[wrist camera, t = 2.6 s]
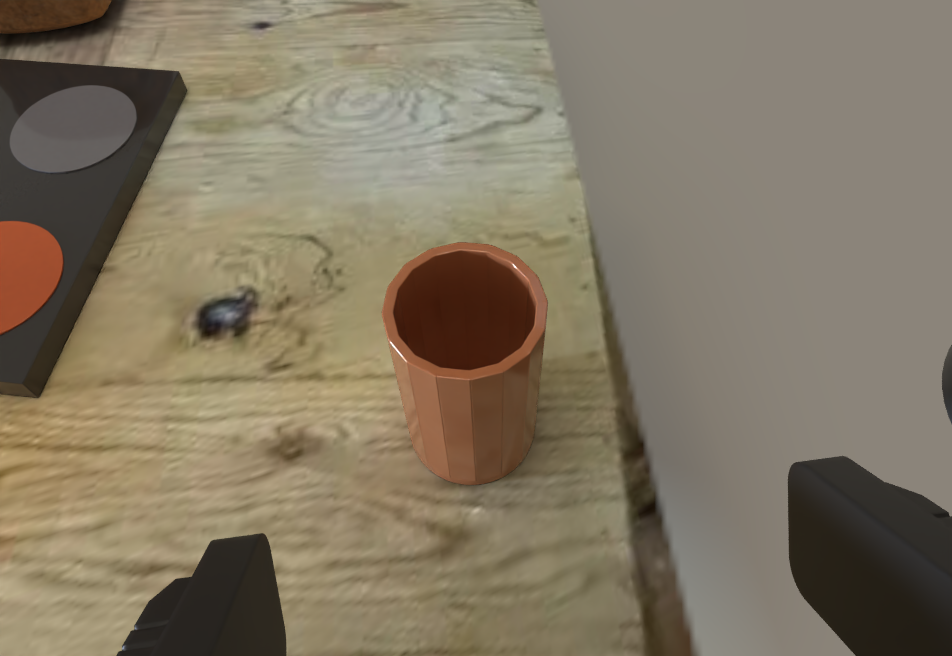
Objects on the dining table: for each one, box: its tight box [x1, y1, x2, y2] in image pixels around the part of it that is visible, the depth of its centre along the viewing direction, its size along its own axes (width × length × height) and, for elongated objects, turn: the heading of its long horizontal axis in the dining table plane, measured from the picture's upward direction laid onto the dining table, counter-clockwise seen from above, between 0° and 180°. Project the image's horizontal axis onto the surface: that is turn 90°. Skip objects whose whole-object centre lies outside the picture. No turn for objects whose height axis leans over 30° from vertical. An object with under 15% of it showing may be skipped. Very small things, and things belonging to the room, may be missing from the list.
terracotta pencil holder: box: [382, 242, 548, 485], centre depth 31 cm, size 6×6×10 cm
